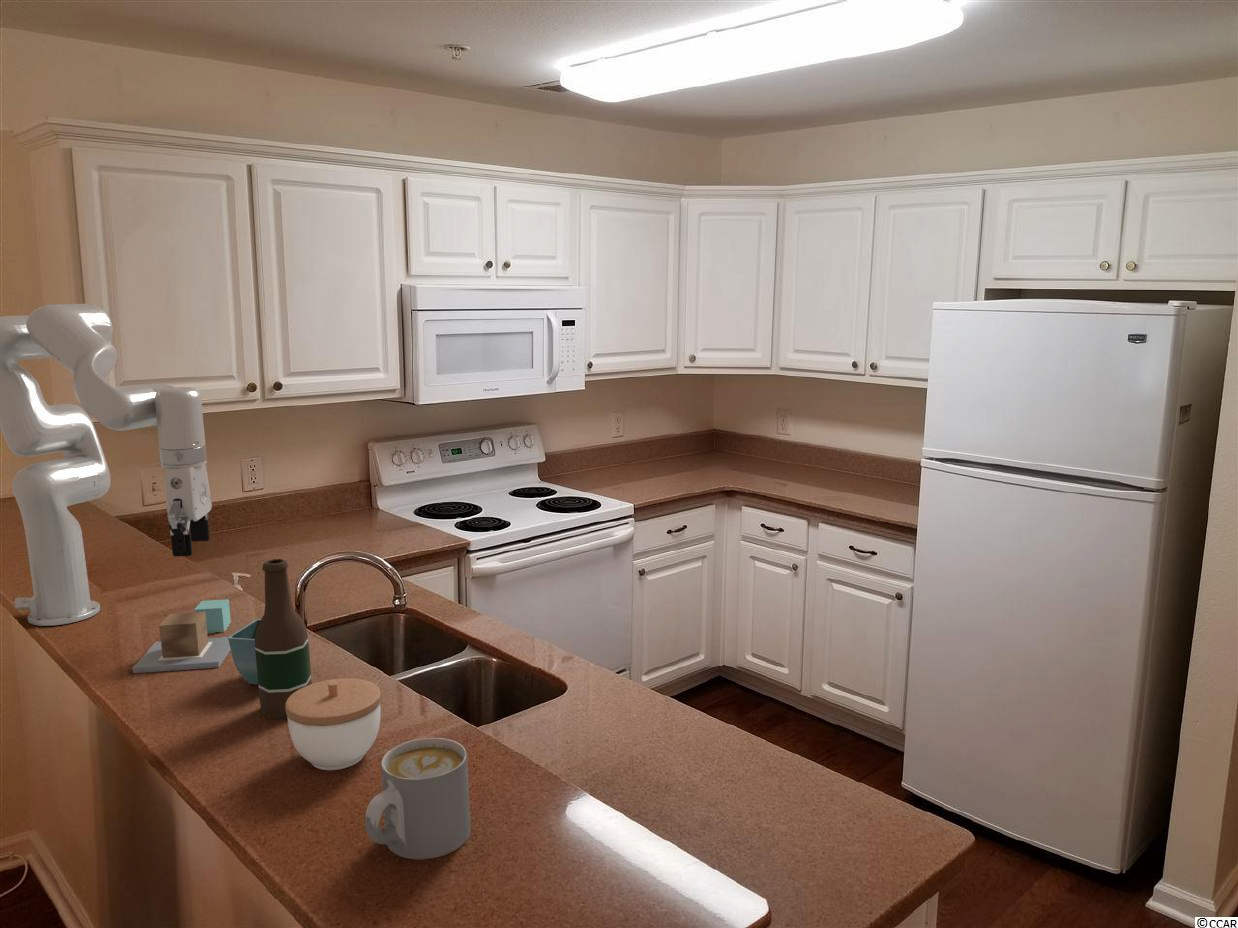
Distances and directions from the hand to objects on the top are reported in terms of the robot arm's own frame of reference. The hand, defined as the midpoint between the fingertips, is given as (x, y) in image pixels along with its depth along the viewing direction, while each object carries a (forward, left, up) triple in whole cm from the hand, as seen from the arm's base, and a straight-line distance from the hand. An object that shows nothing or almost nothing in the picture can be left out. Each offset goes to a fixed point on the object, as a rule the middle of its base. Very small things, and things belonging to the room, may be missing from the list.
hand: (192, 548), depth 170 cm
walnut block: (0, -8, -17) cm, 18 cm away
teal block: (+1, +6, -18) cm, 19 cm away
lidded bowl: (+32, -50, -18) cm, 62 cm away
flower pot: (+17, -21, -18) cm, 32 cm away
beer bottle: (+22, -33, -18) cm, 43 cm away
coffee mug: (+44, -72, -18) cm, 86 cm away
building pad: (0, -8, -18) cm, 20 cm away
